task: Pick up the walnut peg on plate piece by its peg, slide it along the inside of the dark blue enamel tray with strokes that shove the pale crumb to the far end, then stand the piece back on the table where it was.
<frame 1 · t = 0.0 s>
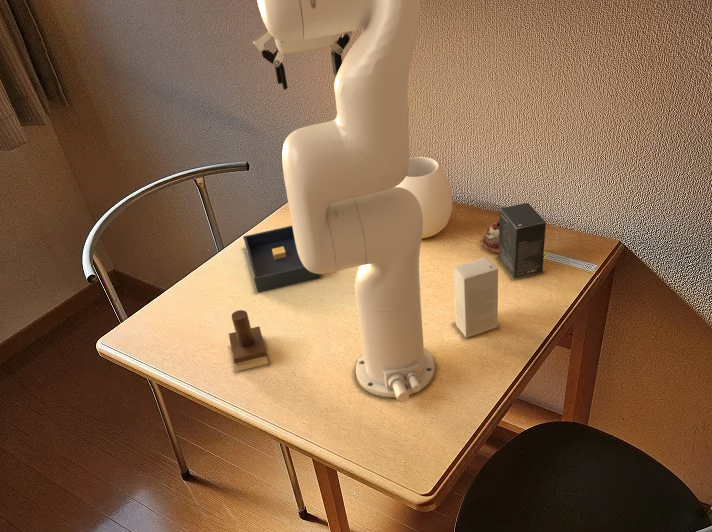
hand: (310, 81, 130), 31 cm above the table, tool pointing down, fingers open, 9 cm apart
cosmetic box: (475, 327, 125), on the table
cup: (420, 229, 149), on the table
crumb: (279, 255, 146), resting on tray
box: (519, 266, 136), on the table
peg on plate: (250, 355, 125), on the table
apple: (323, 212, 158), on the table
pastry: (503, 244, 142), on the table
tray: (281, 262, 145), on the table
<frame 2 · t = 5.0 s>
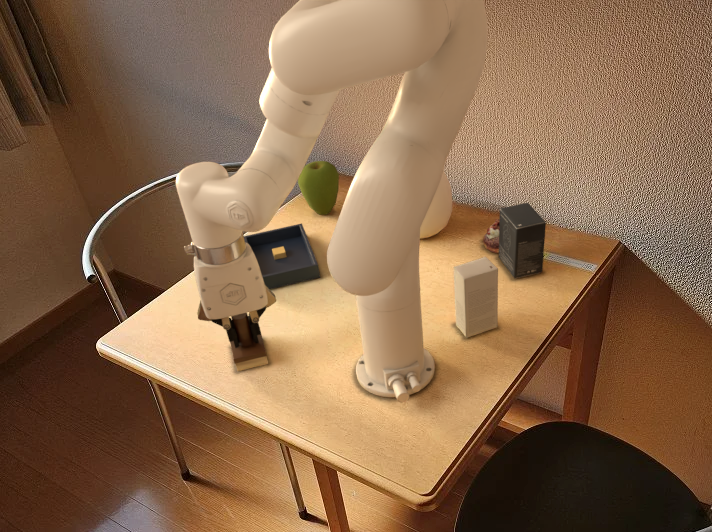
hand: (245, 339, 123), 3 cm above the table, tool pointing down, fingers closed on peg on plate, 2 cm apart
peg on plate: (250, 355, 125), on the table, touching gripper
everything else where it was.
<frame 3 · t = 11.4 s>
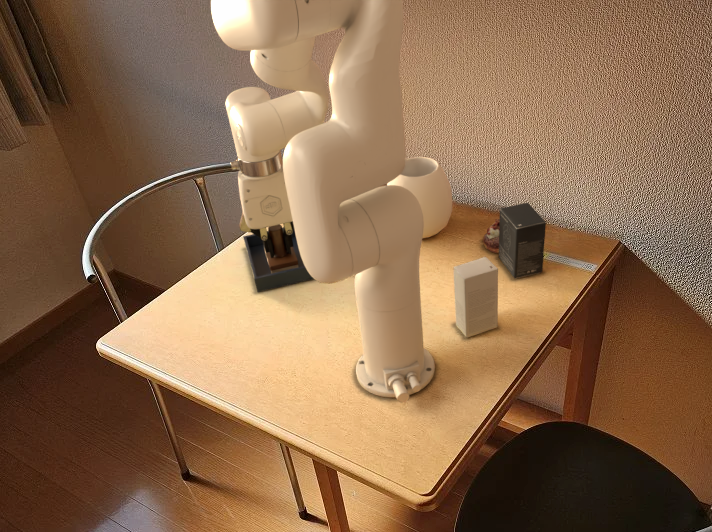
hand: (280, 251, 141), 4 cm above the table, tool pointing down, fingers closed on peg on plate, 2 cm apart
peg on plate: (283, 266, 143), point 1 cm above the table, touching gripper, tray
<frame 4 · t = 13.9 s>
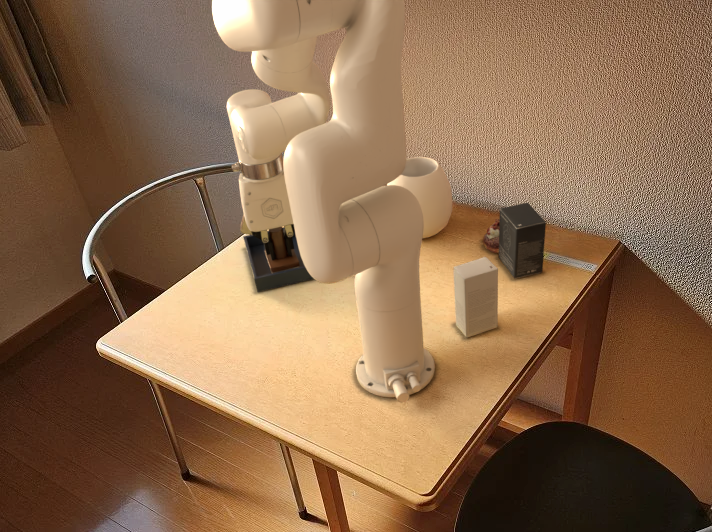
hand: (280, 253, 141), 4 cm above the table, tool pointing down, fingers closed on peg on plate, 2 cm apart
crumb: (277, 247, 148), resting on tray
peg on plate: (283, 268, 142), point 1 cm above the table, touching gripper
everything else where it was.
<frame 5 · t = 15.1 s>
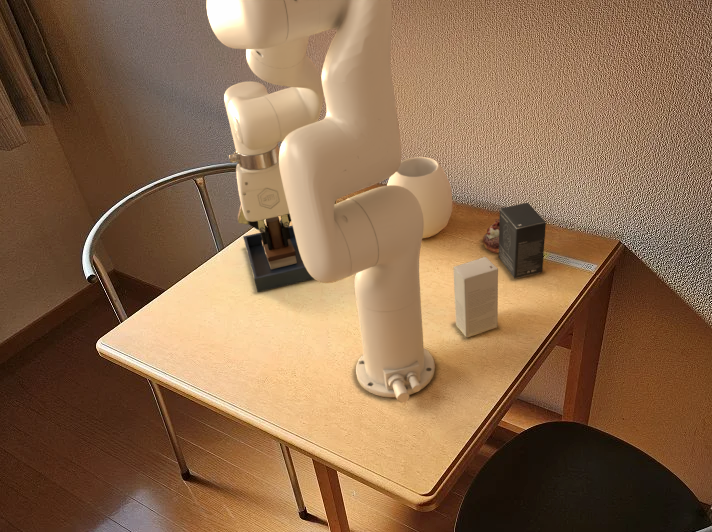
hand: (277, 243, 144), 4 cm above the table, tool pointing down, fingers closed on peg on plate, 2 cm apart
crumb: (276, 246, 149), resting on tray, touching peg on plate
peg on plate: (280, 257, 145), point 1 cm above the table, touching crumb, gripper
everything else where it was.
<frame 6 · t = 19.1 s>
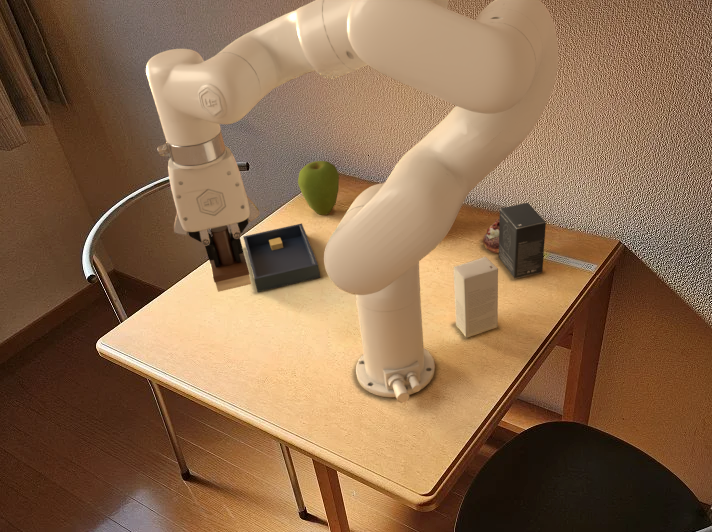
hand: (227, 259, 113), 18 cm above the table, tool pointing down, fingers closed on peg on plate, 2 cm apart
crumb: (276, 246, 149), resting on tray
peg on plate: (231, 276, 115), point 15 cm above the table, touching gripper
everything else where it was.
when the fingers open (3 cm above the table, at t = 22.7 s): peg on plate stays where it is, on the table.
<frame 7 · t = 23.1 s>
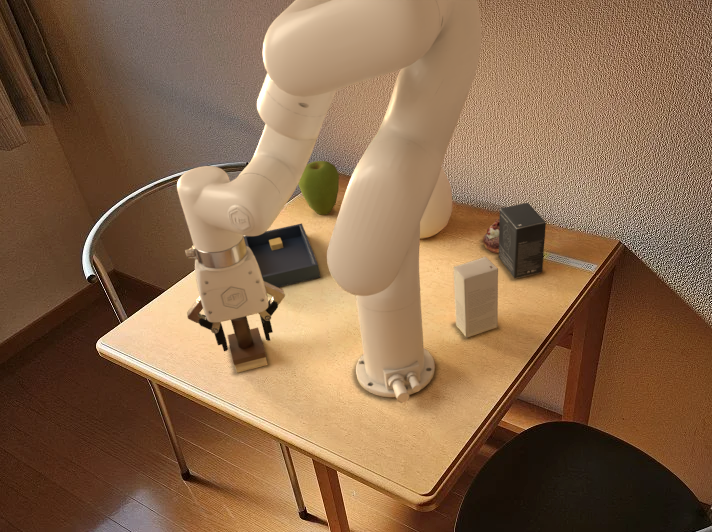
hand: (246, 340, 123), 3 cm above the table, tool pointing down, fingers open, 6 cm apart
peg on plate: (249, 356, 125), on the table
everything else where it was.
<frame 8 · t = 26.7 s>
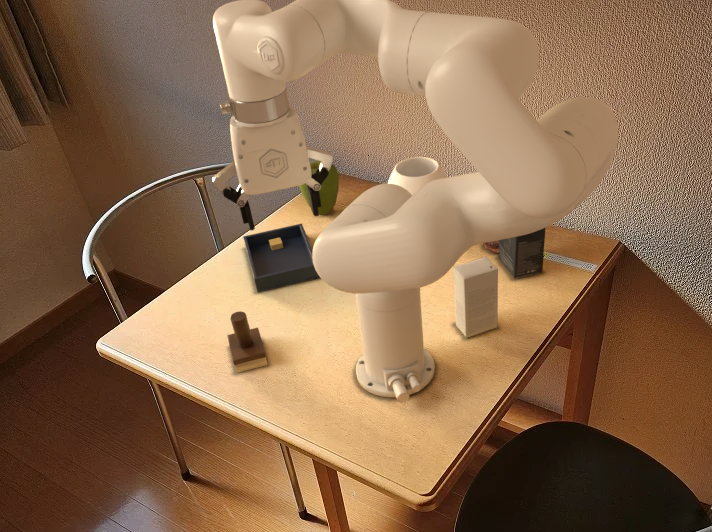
hand: (283, 218, 109), 24 cm above the table, tool pointing down, fingers open, 9 cm apart
nothing on the table moved.
at the end: crumb inside the target area in the tray (0.3 cm from its centre), point 0.5 cm above the tray's base; peg on plate inside the target area (0.4 cm from its centre), on the table; peg on plate tilted 0° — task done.
